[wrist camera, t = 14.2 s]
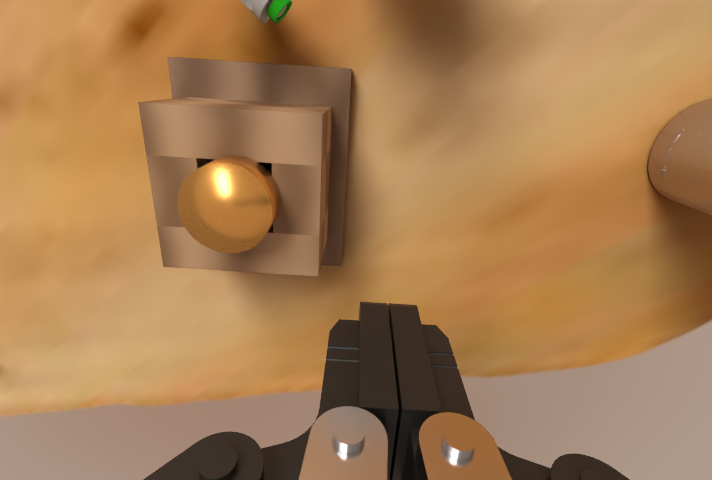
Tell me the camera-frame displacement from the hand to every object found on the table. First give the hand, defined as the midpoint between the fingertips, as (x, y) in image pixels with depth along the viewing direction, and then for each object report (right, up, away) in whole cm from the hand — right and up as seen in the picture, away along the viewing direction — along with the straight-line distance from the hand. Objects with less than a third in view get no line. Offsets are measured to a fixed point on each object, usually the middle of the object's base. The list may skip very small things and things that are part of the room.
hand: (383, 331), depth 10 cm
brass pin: (-9, +8, +23) cm, 26 cm away
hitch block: (-9, +9, +26) cm, 29 cm away
